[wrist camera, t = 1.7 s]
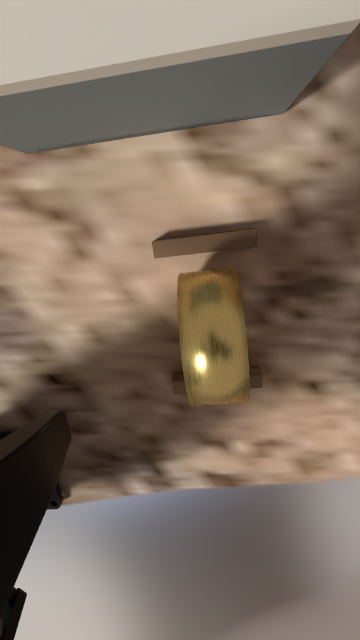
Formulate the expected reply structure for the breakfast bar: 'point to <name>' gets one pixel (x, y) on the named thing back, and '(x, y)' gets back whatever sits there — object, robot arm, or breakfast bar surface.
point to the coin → (213, 337)
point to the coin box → (155, 64)
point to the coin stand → (201, 246)
